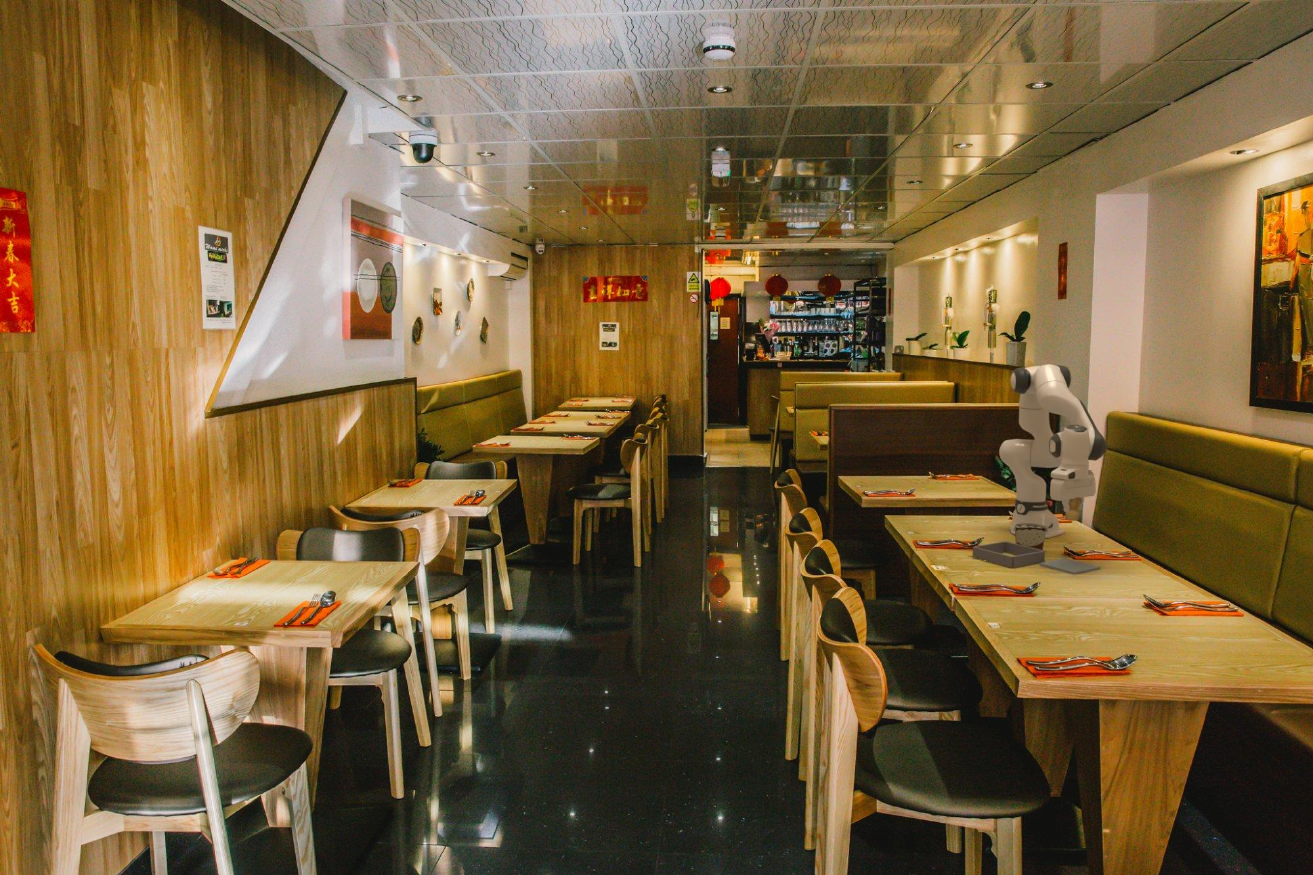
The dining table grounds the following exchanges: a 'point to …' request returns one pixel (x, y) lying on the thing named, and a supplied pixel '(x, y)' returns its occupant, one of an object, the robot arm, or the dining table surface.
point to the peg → (1073, 510)
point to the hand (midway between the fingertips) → (1072, 510)
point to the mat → (1069, 566)
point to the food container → (1030, 535)
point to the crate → (1023, 553)
